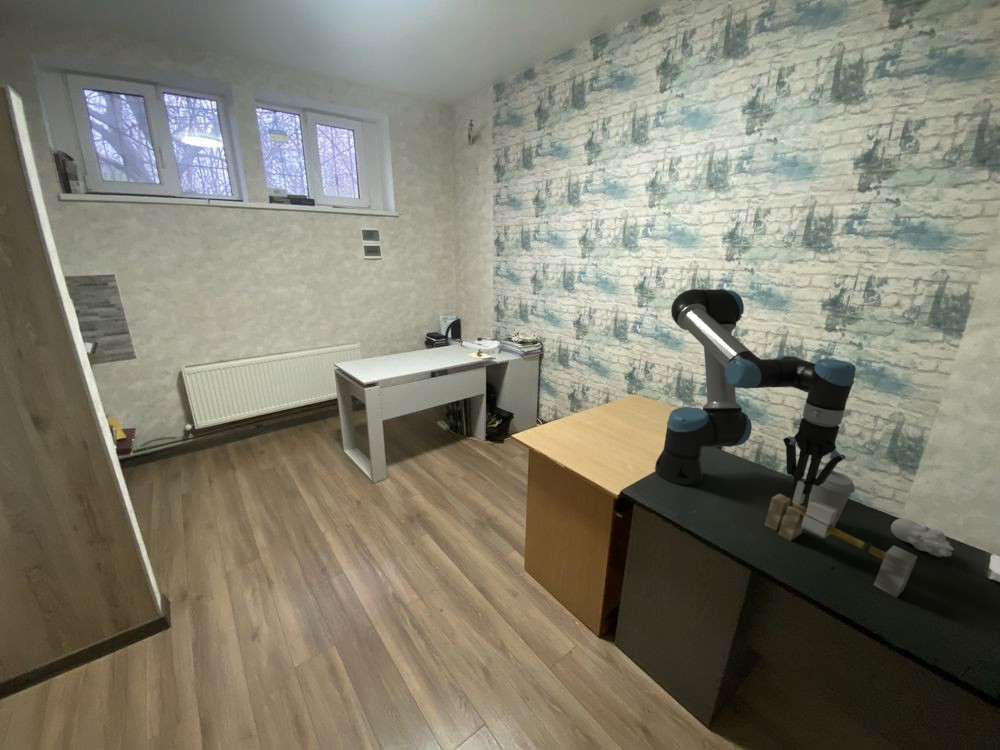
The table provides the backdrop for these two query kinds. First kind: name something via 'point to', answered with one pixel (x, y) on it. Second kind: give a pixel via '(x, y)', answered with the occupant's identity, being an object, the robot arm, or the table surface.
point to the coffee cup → (833, 491)
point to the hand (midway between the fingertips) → (797, 502)
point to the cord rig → (894, 560)
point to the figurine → (922, 537)
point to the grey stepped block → (819, 518)
